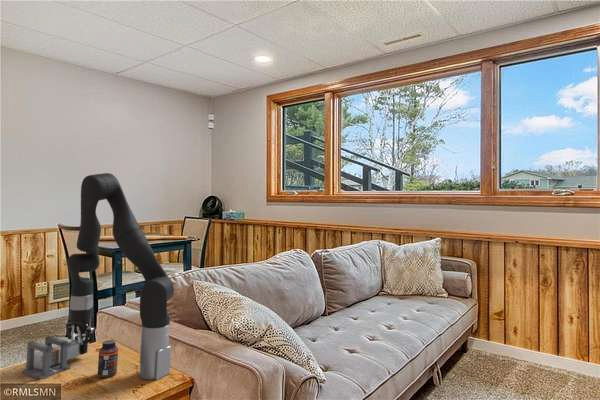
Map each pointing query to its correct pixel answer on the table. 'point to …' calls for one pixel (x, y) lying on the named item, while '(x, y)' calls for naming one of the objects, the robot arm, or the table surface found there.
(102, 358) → the supplement bottle
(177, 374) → the table surface
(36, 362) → the grey rectangular bar
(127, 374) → the table surface
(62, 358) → the collar stand
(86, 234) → the robot arm
